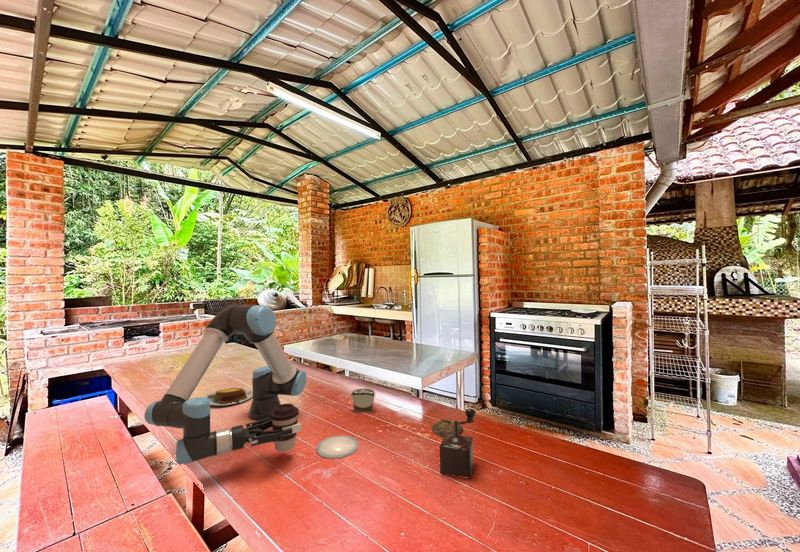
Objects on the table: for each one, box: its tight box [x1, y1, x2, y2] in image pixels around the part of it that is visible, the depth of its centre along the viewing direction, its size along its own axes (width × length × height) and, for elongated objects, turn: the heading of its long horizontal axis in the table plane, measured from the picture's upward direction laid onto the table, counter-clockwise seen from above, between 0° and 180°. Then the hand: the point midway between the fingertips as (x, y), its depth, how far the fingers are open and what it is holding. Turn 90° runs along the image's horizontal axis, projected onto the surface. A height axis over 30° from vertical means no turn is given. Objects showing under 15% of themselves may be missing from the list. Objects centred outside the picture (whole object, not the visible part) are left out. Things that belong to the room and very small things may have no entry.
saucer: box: [316, 435, 359, 460], centre depth 128 cm, size 16×16×1 cm
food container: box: [350, 387, 376, 413], centre depth 164 cm, size 12×6×10 cm, turn 84°
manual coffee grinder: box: [439, 408, 477, 478], centre depth 115 cm, size 16×11×18 cm
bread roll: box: [431, 418, 464, 439], centre depth 140 cm, size 13×12×5 cm
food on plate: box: [204, 386, 253, 406], centre depth 180 cm, size 25×25×7 cm
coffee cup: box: [270, 403, 300, 453], centre depth 121 cm, size 10×10×15 cm
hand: (297, 422), depth 123 cm, fingers closed on coffee cup, 9 cm apart
